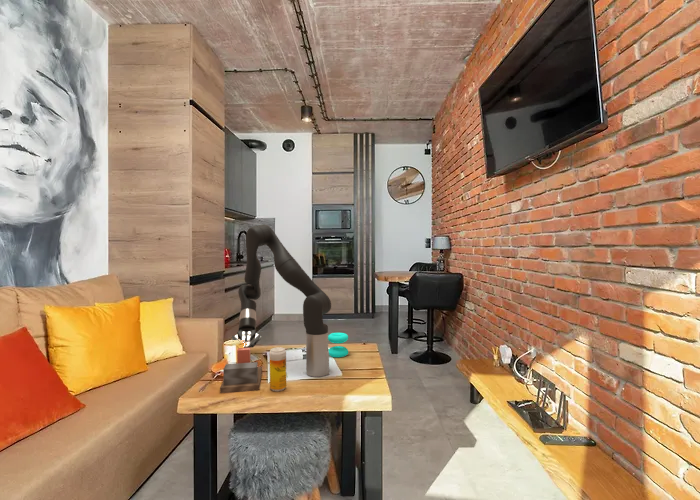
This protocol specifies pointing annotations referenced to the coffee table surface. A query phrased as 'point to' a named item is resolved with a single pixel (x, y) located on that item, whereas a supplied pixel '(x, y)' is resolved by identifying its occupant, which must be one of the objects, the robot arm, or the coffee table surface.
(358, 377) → the coffee table surface
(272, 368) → the beer glass
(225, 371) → the grey and brown block
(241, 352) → the reddish brown block
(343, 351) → the donuts
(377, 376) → the coffee table surface
